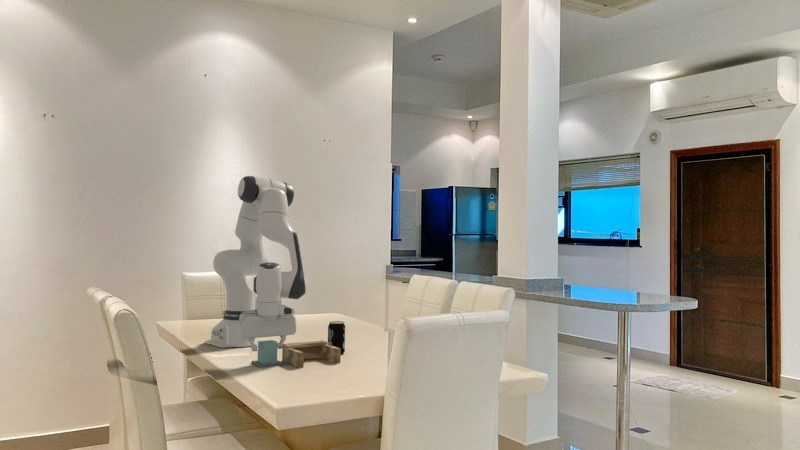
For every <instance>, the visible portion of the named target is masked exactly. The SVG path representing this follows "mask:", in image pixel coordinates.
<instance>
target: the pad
mask: <svg viewBox="0 0 800 450" xmlns="http://www.w3.org/2000/svg"><path fill="white" fill-rule="evenodd" d="M251 364H252V365H255V366H257V367H259V368H266V367H268V368H269V367H276V366H283V365H284V361H280V360H278V359H277V362H275V363H266V364H263V363H260V362H258V359H256V360H252V361H251Z"/></svg>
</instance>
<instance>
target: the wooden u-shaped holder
mask: <svg viewBox="0 0 800 450" xmlns="http://www.w3.org/2000/svg"><path fill="white" fill-rule="evenodd" d="M281 353H282V355H281V357H282V358H281V360H282V361H281V362H283V363H287V364H289V365H291V366H294V367H296V368H300V369H301V368H304V361H305V360H310V359H318V358H319V359H320V358H321V359H324V360H326V361H329V362H332V363H334V364H340V363H341V355H342V354H341V348H337V347H334V346H331V345H328V341H327V340H322V339H321V340H311V341H310V340H309V341H303V342H302V341H301V342H291V343H283V348H282V351H281Z"/></svg>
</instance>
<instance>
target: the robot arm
mask: <svg viewBox="0 0 800 450" xmlns="http://www.w3.org/2000/svg"><path fill="white" fill-rule="evenodd" d="M237 196H238V198H239V200H241V201H242V204H241V207H240V209H239V214H238V217H237V222H236V225H235V229H234V233H235V236H236V237H237V238H238V239H239V241H240V248H239V249H226V250H222V251H219V252H217V253H216V254H215V256H214V257H213V262H212V265H213V270H214V271H215V273H216V274H217V275H219V277H220V278H221V280H222V282H223V284H224V287H225V293H226V294H225V295H226V310H224V311H223V310H222V315H223V317H222V318H223V319H222V320H221V321H219V322H218V323H217V324H216V325H215V326H213V327H212V328H211V334H210V338H209V339H206V340H204V344H207V345H210V344H211V346H214V347H219V348H245V347H251V348H250V349H251V352H258V341H259V340H258V339H261V338H269V337H270V338H272V337H279V338H280V341H278V342H277V350H279V349H282V348H283V344H285V342H286V339H287V336H292V335H295V333H296V332H297V320H296V316H295V308H293V307H291V306H287V305H285V304H282V299H290V300H299V299H300V298H302V297H303V296H304V295H305V294H306V292H307V286H308V284H307V279H306V276H305V274H304V273H305V271H304V268H303V261H302V254H301V248H300V247H301V246H300V243H299V236H298V233H297V231H296V230H295V229H293V228H292V227H291V225H290V223H289V206H291V205H292V204H293V201H294V199H295V197H294V196H295V190H294V188H293V186H292V185H291V184H290V183H287V182H284V181H283V182H282V181H279V180H275V179H272V178H264V177H258V176H257V177H256V176H253V175H245V176H243V178H241V179H240V180H239V182H238V186H237ZM263 237H264V238H266V239H268V240H269V241H270V242H274V243H277V244H278V245H279V244H280V245H282V246H283V247H285V248H287V250H288V252H289V257H290V264H291V270H290V271H282V269H281V268H282V267H281V265H280V264H279V263H277V262H271V261H270V262H269V258H268V255H267V254H266V252H265V251H264V247H263ZM247 276H249V277H250V276H255V277H253V288H252V287H251V286H250V285H249V284H248V281H247ZM255 295H256V296H255Z"/></svg>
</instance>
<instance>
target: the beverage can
mask: <svg viewBox="0 0 800 450" xmlns="http://www.w3.org/2000/svg"><path fill="white" fill-rule="evenodd" d="M328 323H329V324H328V326H327V345H331V346H334V347H337V348H341V355H343V354H344V353H345V351H346V347H345V346H346V325H345V322H344V321H341V320H334V321H329V322H328Z"/></svg>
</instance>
